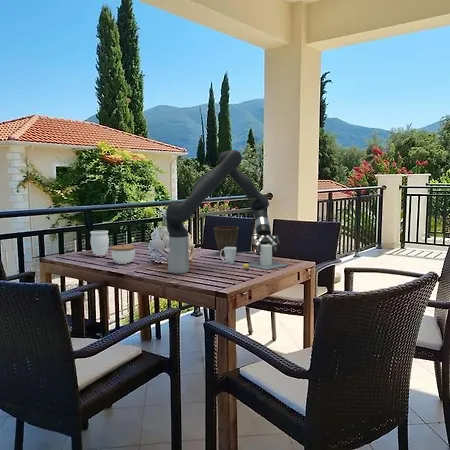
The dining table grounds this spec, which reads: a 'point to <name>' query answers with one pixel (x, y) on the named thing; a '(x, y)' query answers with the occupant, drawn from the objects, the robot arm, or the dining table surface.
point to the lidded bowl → (123, 253)
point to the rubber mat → (273, 266)
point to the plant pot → (225, 237)
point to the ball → (245, 266)
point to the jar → (99, 242)
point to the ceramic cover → (266, 254)
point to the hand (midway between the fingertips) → (266, 252)
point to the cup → (229, 254)
